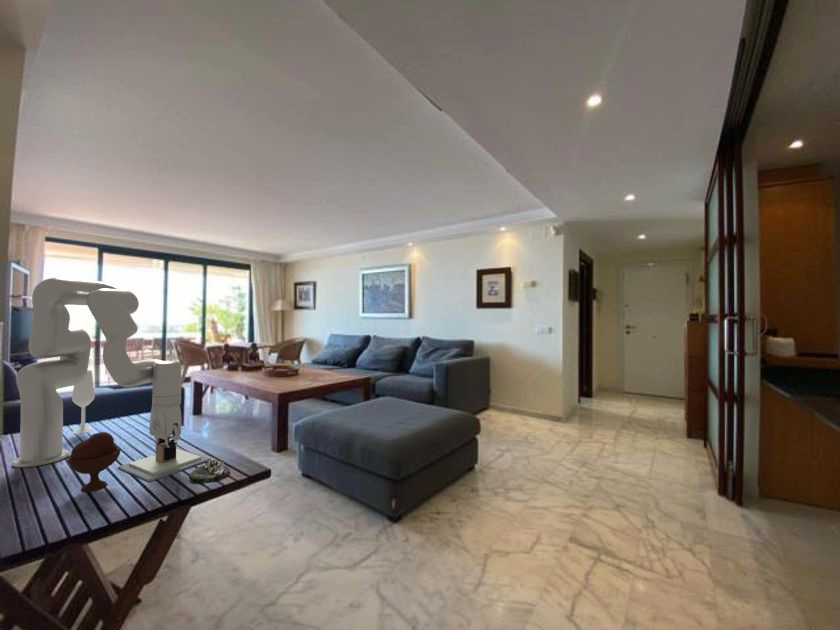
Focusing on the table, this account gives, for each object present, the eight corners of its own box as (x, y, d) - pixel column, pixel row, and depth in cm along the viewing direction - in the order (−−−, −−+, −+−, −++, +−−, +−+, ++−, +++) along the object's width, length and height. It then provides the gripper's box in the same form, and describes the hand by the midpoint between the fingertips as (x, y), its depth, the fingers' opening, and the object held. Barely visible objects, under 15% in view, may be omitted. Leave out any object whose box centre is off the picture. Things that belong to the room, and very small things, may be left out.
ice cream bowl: (114, 475, 108) (114, 424, 108) (123, 486, 101) (124, 432, 101) (64, 487, 99) (65, 433, 99) (71, 501, 92) (71, 442, 92)
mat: (117, 468, 112) (117, 466, 112) (179, 449, 128) (179, 448, 128) (148, 482, 104) (149, 479, 104) (210, 460, 120) (210, 458, 120)
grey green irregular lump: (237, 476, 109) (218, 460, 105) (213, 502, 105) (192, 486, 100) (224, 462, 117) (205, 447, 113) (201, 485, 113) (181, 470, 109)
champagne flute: (66, 433, 143) (67, 372, 143) (82, 428, 149) (83, 369, 149) (83, 433, 143) (84, 372, 143) (98, 428, 149) (99, 369, 149)
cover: (128, 465, 113) (129, 446, 113) (176, 451, 125) (177, 434, 125) (153, 475, 106) (153, 455, 106) (201, 459, 119) (201, 441, 119)
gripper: (139, 399, 116) (138, 456, 116) (168, 406, 109) (167, 467, 109) (165, 394, 123) (164, 448, 123) (194, 401, 115) (193, 458, 115)
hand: (165, 456), depth 116 cm, fingers closed on cover, 4 cm apart
